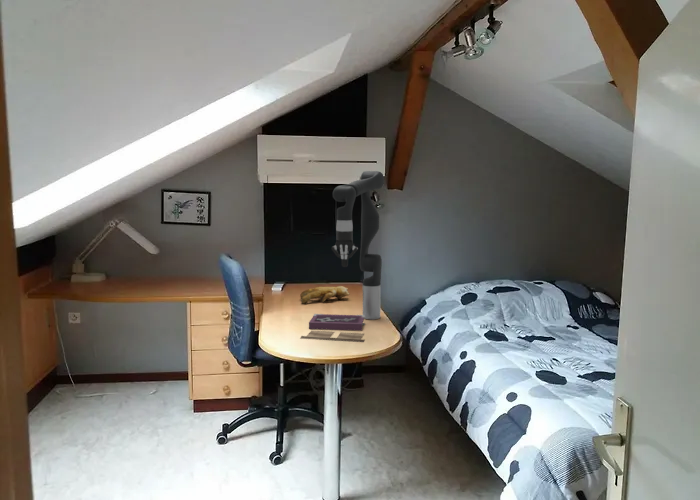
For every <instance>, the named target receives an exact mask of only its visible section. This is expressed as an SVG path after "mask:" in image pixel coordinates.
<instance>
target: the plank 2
mask: <svg viewBox="0 0 700 500" xmlns="http://www.w3.org/2000/svg"><path fill="white" fill-rule="evenodd" d="M364 335H365V333H358V332H357V333H356V332H341V331H340V333H339V334H338V335H337V337H336V338H346V339H362V338H363V337H364Z"/></svg>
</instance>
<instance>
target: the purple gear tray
mask: <svg viewBox="0 0 700 500" xmlns="http://www.w3.org/2000/svg"><path fill="white" fill-rule="evenodd" d="M364 321H365V315H363V314H329V313H327V314H325V313H313V315H312V317H311V318H310V320H309V322H308V329H309V330H324V331H325V330H326V331H328V330H329V331H330V330H331V331H333V330H335V331H363V326H366V323H365V322H364Z"/></svg>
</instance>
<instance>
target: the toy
mask: <svg viewBox="0 0 700 500" xmlns="http://www.w3.org/2000/svg"><path fill="white" fill-rule="evenodd" d="M349 295H350V293H349V288H348V287H346V286H342V285H338V286H316V287H313V288H307V289H305V290H303V291H301V292H300V300H301V301H300V302H301V304H303V305H305V304H307V303H308V302H310V300H314V299H315V300H316V299H321V302H322V303H324V302H325V301H326V300H327V299H331V298H336V299H337V300H342V299H343V298H345V297H348V296H349Z"/></svg>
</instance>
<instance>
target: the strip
mask: <svg viewBox="0 0 700 500" xmlns="http://www.w3.org/2000/svg"><path fill="white" fill-rule="evenodd" d="M299 339H301V340H302V339H303V340H315V341H316V340H318V341H334V342H335V341H336V342H348V343H350V342H352V343H365V339H362V338H361V339H346V338H337V337H330V338H329V337H312V336H307V335H301V336H300V338H299Z"/></svg>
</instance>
